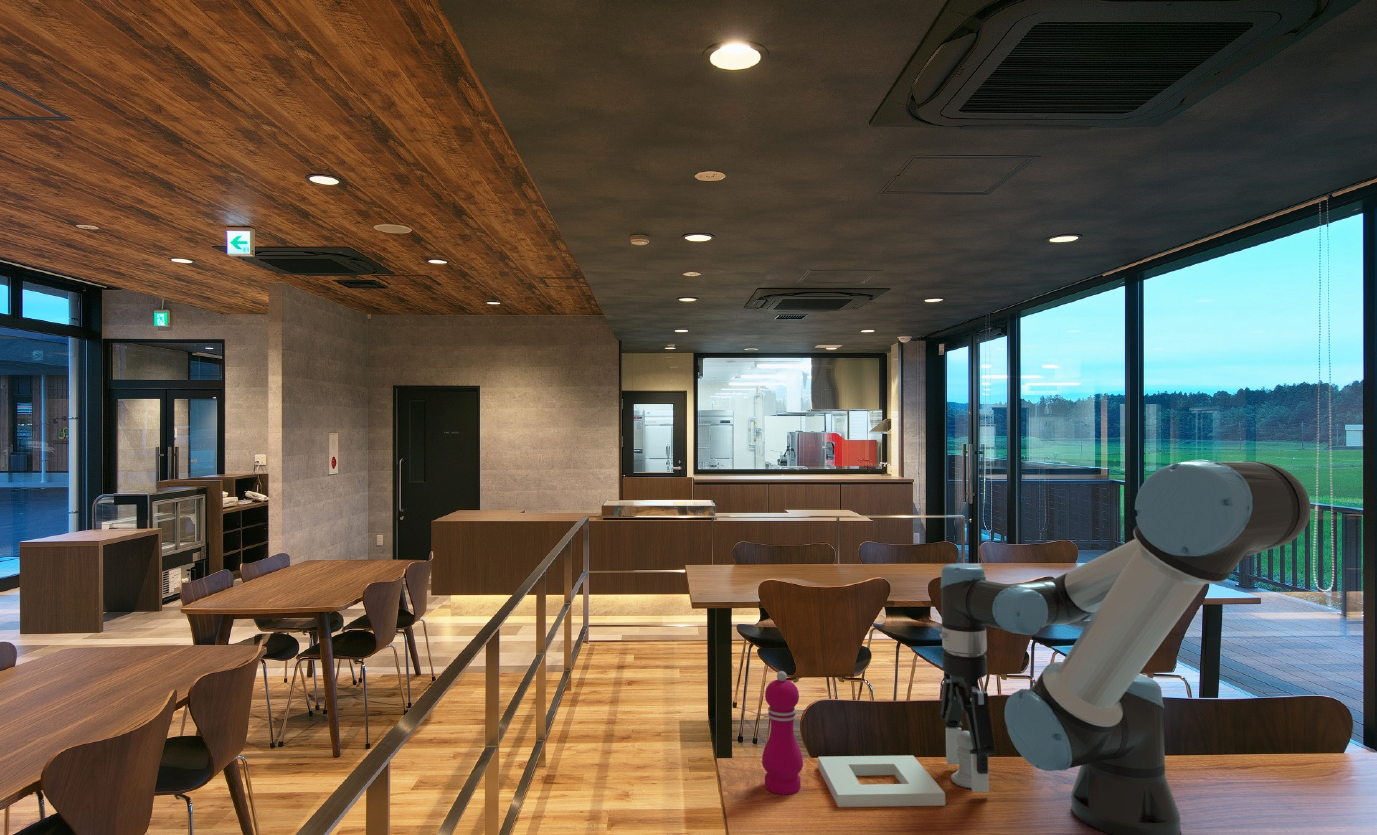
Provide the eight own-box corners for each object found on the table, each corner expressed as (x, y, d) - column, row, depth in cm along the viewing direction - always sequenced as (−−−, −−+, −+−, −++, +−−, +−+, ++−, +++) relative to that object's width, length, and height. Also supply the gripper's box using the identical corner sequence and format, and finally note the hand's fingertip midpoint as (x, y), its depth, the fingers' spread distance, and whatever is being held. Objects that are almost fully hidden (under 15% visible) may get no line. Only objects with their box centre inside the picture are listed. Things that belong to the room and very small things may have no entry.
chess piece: (989, 784, 132) (988, 732, 133) (971, 791, 129) (969, 738, 130) (963, 773, 136) (962, 723, 137) (944, 781, 133) (943, 729, 134)
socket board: (913, 766, 140) (912, 755, 140) (945, 805, 124) (945, 793, 124) (818, 767, 139) (818, 756, 139) (838, 807, 123) (838, 794, 123)
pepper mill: (802, 779, 134) (801, 666, 135) (804, 797, 127) (803, 677, 128) (762, 777, 135) (761, 665, 136) (762, 795, 128) (761, 676, 129)
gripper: (921, 636, 146) (923, 751, 144) (970, 669, 122) (973, 807, 121) (959, 636, 146) (961, 751, 145) (1014, 669, 123) (1018, 806, 121)
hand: (966, 776), depth 133 cm, fingers open, 11 cm apart
